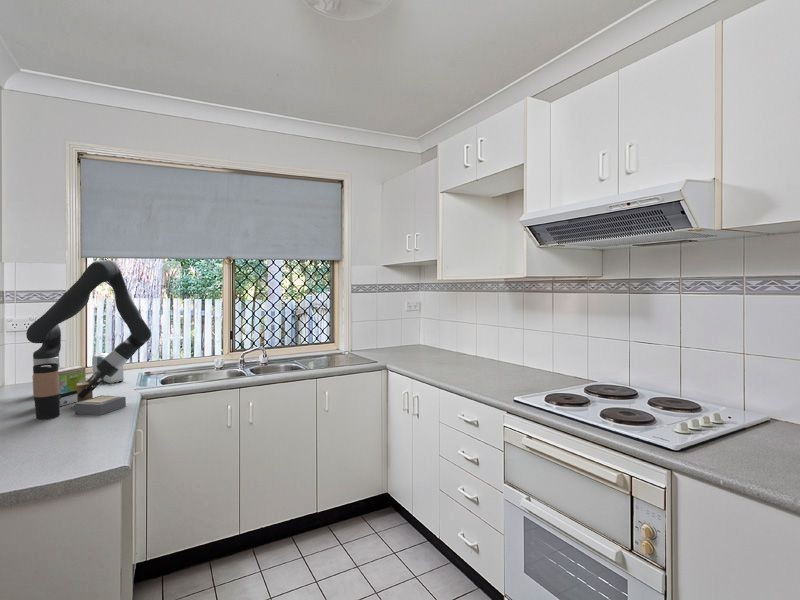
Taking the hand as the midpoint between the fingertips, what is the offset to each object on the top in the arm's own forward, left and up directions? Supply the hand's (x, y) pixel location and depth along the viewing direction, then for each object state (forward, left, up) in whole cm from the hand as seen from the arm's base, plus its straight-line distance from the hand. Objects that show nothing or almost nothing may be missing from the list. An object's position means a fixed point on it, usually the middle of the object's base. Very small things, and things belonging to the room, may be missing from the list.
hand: (79, 395), depth 186 cm
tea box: (-11, +1, -5) cm, 12 cm away
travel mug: (+2, -15, -4) cm, 16 cm away
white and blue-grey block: (-27, +41, -5) cm, 50 cm away
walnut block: (+1, +1, -4) cm, 5 cm away
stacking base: (+14, -4, -4) cm, 15 cm away
